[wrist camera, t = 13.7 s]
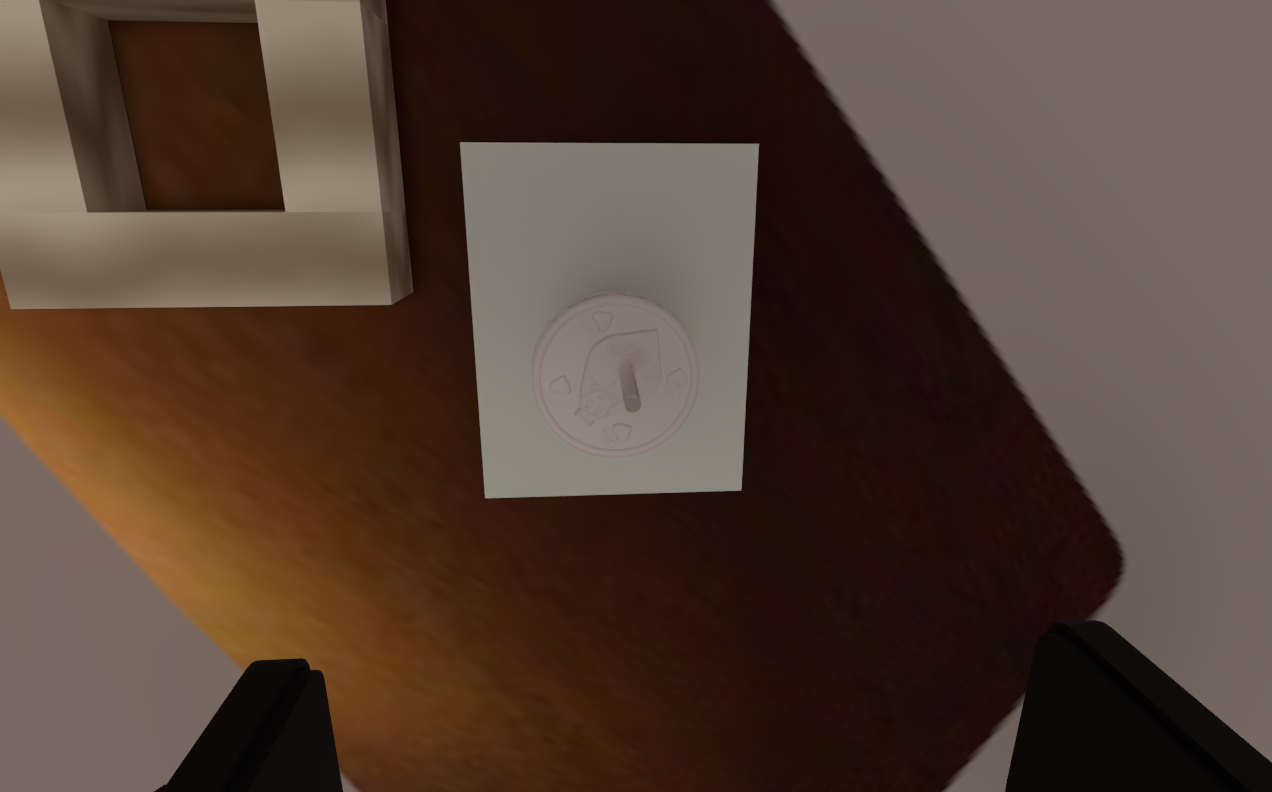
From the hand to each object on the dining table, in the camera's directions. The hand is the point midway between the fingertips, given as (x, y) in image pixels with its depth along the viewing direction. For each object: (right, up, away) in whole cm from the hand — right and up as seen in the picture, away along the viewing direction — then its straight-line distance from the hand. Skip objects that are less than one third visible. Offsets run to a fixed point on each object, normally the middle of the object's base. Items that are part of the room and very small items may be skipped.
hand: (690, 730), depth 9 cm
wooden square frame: (-20, +17, +22) cm, 34 cm away
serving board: (-2, +8, +26) cm, 28 cm away
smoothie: (-2, +8, +26) cm, 27 cm away
